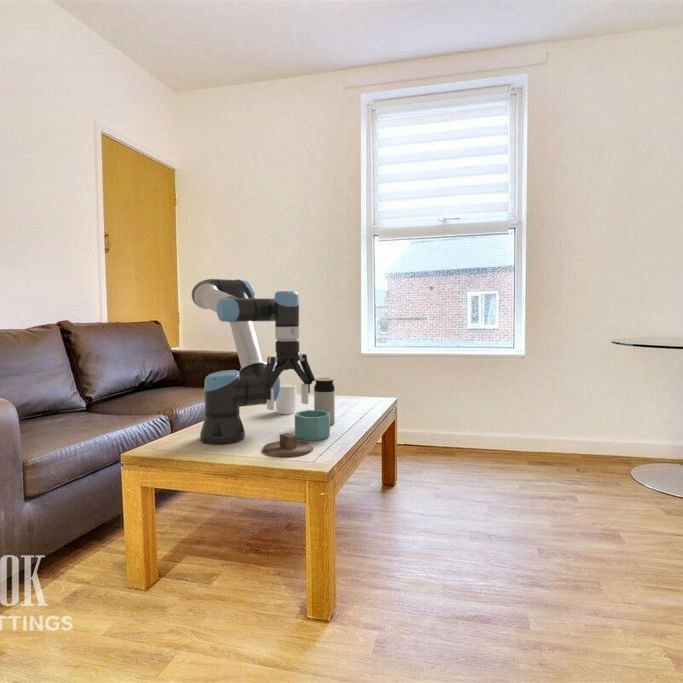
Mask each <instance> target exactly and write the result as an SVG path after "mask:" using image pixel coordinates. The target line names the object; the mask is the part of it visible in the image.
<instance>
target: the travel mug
mask: <svg viewBox="0 0 683 683" xmlns="http://www.w3.org/2000/svg"><path fill="white" fill-rule="evenodd" d="M314 378H315V381H314V382H315V385H314V388H313V396H314V398H313V401H314V402H313V405H314V406H313V407H314V408H313V410H322V411H326V412H330V426H332V425H334V424H335V423H336V421H335V417H336V416H335V411H336V410H335V408H336V407H335V402H336V401H335V398H336V397H335V385H334V380H335V378H334V377H331V376H320V377H319V376H318V377H314Z"/></svg>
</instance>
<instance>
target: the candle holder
mask: <svg viewBox="0 0 683 683" xmlns="http://www.w3.org/2000/svg"><path fill="white" fill-rule="evenodd" d="M297 386H298V384H296V383H287V382H286V383H284V382H283V383H280V391H279V395H278V398H277V399H276V400H275V401H274V402H275V412H276V414H278V413H279V414H278V415H291V413H292V414H296V410H297V409H296V408H297V406H296V405H297Z"/></svg>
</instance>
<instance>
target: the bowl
mask: <svg viewBox="0 0 683 683" xmlns="http://www.w3.org/2000/svg"><path fill="white" fill-rule="evenodd" d="M294 414H295V415H294V435H296V436H297V439H298V440H300V441H306V442H312V441H314V442H315V441H316V440H317V441H322V440H326V438H327V439H328V437H329V438H330V434H331V425H330V412H326V411H322V410H314V409H313V410H312V409H306V410H301V411H297V412H295V413H294ZM317 441H316V442H317Z"/></svg>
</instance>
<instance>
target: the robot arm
mask: <svg viewBox="0 0 683 683" xmlns="http://www.w3.org/2000/svg"><path fill="white" fill-rule="evenodd" d="M191 299H192V302H193V303H194V304H195V305H196V306H197V307H199V308H200V309H203V310H211V311H213V312H214V313H216V315H217V318H218V320H219V321H220V322H223V323H224V322H225V323H226V322H227V323H229V326H230V329H231V333H232V336H233V340H234V344H235V345H234V346H235V349H236V353H237V356H238V359H239V364H240V367H241V368H240V370H237V369H229V370H227V369H226V370H219V371H216V372H215V371H214V372H211V373H209V374H208V375H207V376H206V377H205V379H204V388H203V392H204V420H203V424H202V427H201V429H200V433H199V434H200V435H199V438H200V442H202V443H204V444H208V443H209V444H210V445H224V444H232V443H233V444H234V443H237V442H240V441H242V440H244V439H245V437H246V430H245V427H244V424H243V422H242V419H241V416H240V408H242V407H250V406H259V405H264V406H265V405H266V409H267V410H269V411H275V406H274V405H275V402H276V401H275V400H276V399H277V398H278V395H279V391H280V384H281V378H280V375H281V374H282V373H283V372H284V371H288V370H294V373H296V375H297V376H298V377H299V379H300V380H301V381H302V382H303V383H301V384H300V386H301V388H300V389H301V397H300V398H301V404H303V405H309V394H311V393H310V392H311V390H310V389H311V388H310V387H311V386H310V385H312V383H313V382H316V381H315V378H316V377H314V374H313V372H312V370H311V366H310V364H309V362H308V356H307V354H306V353H300V354H299V352H300V341H299V339H300V302H299V301H300V300H299V293H298V292H297V291H291V290H288V291H287V290H284V291H283V290H282V291H281V290H280V291H276V292H275V293H274V298H256V297H255V290H254V288H253V286H252V284H251V283H250V282H249V281H247V280H243V279H238V278H237V279H221V278H220V279H219V278H218V279H217V278H216V279H215V278H207V279H204V280H201V281H199V282H197V283H196V284H195V285H194V287H193V288H192V291H191ZM254 322H274V324H275V326H274V328H275V329H274V333H275V334H274V335H275V337H274V338H275V340H276V341H275V344H274V345H275V353H276V354H275V355H276V356H267V359H266V360H267V361H266V362H265V361H264V358H263V354H262V350H261V347H260V343H259V339H258V336H257V333H256V329H255V326H254ZM299 363H300V364H299ZM275 364H276V365H275Z"/></svg>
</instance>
